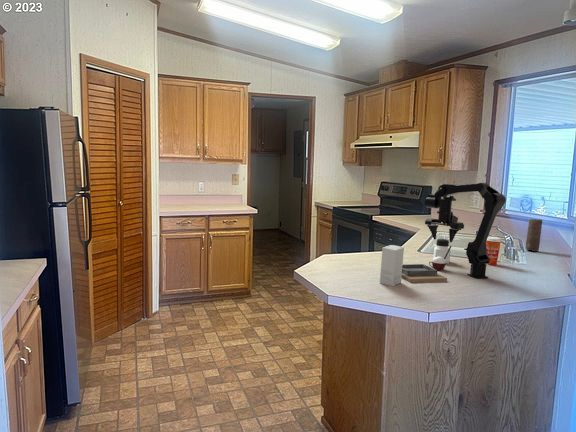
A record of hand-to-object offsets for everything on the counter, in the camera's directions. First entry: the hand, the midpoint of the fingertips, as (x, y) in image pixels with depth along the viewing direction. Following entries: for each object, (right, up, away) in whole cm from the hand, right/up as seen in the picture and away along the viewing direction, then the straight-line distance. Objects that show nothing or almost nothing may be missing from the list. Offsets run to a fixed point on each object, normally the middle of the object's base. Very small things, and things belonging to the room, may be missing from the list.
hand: (442, 240), depth 215 cm
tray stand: (-18, -15, -17) cm, 29 cm away
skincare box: (-33, -16, -32) cm, 49 cm away
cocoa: (-3, -14, -4) cm, 15 cm away
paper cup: (+30, -13, +13) cm, 35 cm away
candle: (+74, -10, +54) cm, 92 cm away
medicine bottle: (+4, -12, +14) cm, 18 cm away
